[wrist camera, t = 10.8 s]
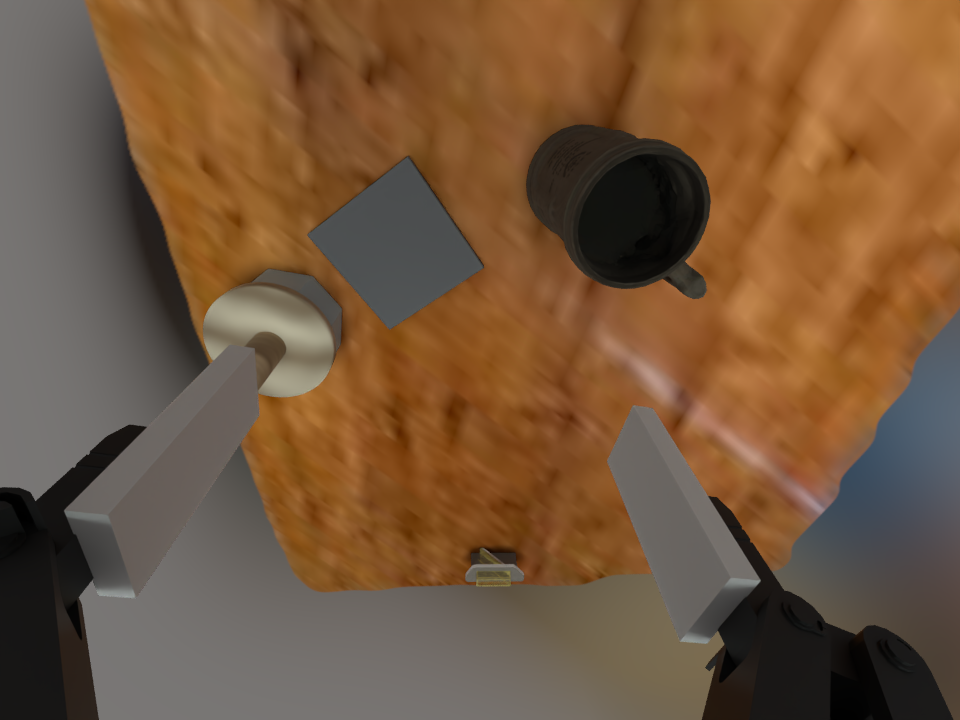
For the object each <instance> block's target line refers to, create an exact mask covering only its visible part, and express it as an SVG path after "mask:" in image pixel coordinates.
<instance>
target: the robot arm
mask: <svg viewBox="0 0 960 720" xmlns="http://www.w3.org/2000/svg"><path fill="white" fill-rule="evenodd" d="M258 416H259V403H258V389H257V375H256V360H255V348H249V347H243V346H236V345H229V346H228V347H227V348H226V349H225V350H224V351H223V352H222V353H221V354H220V355H219V356H218V357H217V358H216V359H215V360H214V361H213V362H212V363H211V364H210V365H209V366H208V367H207V368H206V369H205V370H204V371H203V372H202V373H201V374H200V375H199V376H198V377H197V378H196V379H195V380H194V381H193V382H192V383H191V384H190V385H189V386H188V387H187V388H186V389H185V390H184V391H183V392H182V393H181V394H180V395H179V396H178V397H177V398H176V399H175V400H174V401H173V402H172V403H171V404H170V405H169V406H168V407H167V408H166V409H165V410H164V411H163V412H162V413H161V414H160V415H159V416H158V417H157V418H156V419H155V420H154V421H153V422H152V423H151V424H150V425H149V426H148V427H144V426H136V425H128V426H126V427H124V428H122V429H120V430H118V431H116V432H114V433H112V434H110V435H108V436H107V437H105V438H104V439H103V440H102V441H101V442H100V443H99V444H98V445H97V446H96V447H94V448H93V449H92V450H91V451H90V454H89V455H86V456H85V457H84V458H82V459H81V460H80V461H79V462H78V463H77V464H76V467H75V468H71V469H70V470H69V471H68V472H67V473H66V474H65V475H64V476H63V477H62V478H61V479H60V480H58V481H57V482H56V483H55V484H54V485H53V486H52V487H51V488H50V489H48V490H47V491H46V492H45V493H44V494H43V495H42V496H41V497H40V498H39V499H37V501H35V500H34V498H33V496H32V494H31V493H30V492H29V491H26V490H24V489H21V488H7V487H2V488H0V720H99V718H98V712H97V704H96V697H95V691H94V685H93V677H92V670H91V664H90V657H89V650H88V643H87V637H86V630H85V623H84V617H83V610H82V604H81V602H80V600H79V596H80V595H81V593H82V592H83V591H84V590H85V588H86V587H87V586H88V585H89V583H90V582H91V581H92V580H93V583H94V585H95V587H96V590H97V592H98V595H101V596H113V597H126V598H137V596H138V595H139V593H140V592H141V590H142V589H143V587H144V586H145V584H146V583H147V581H148V580H149V579H150V577H151V576H152V574H153V572H154V571H155V570H156V568H157V567H158V565H159V564H160V562H161V561H162V559H163V558H164V556H165V555H166V553H167V552H168V550H169V549H170V547H171V546H172V544H173V543H174V541H175V540H176V538H177V537H178V535H179V534H180V532H181V531H182V529H183V528H184V526H185V525H186V523H187V522H188V521H189V519H190V518H191V516H192V515H193V513H194V511H195V510H196V509H197V507H198V505H199V504H200V503H201V501H202V500H203V498H204V497H205V495H206V493H207V492H208V491H209V489H210V488H211V486H212V485H213V483H214V482H215V480H216V478H217V477H218V476H219V474H220V473H221V471H222V470H223V468H224V467H225V465H226V464H227V463H228V461H229V459H230V458H231V456H232V455H233V453H234V452H235V451H236V449H237V448H238V446H239V445H240V443H241V442H242V440H243V439H244V437H245V436H246V434H247V433H248V431H249V430H250V428H251V427H252V425H253V424H254V422H255V421H256V419H257V418H258ZM607 462H608V464H609V467H610V469H611V472H612V474H613V477H614V479H615V482H616V484H617V487H618V489H619V492H620V494H621V497H622V499H623V502H624V504H625V507H626V509H627V511H628V514H629V516H630V519H631V521H632V524H633V526H634V529H635V531H636V534H637V536H638V539H639V541H640V544H641V546H642V549H643V551H644V554H645V556H646V559H647V561H648V564H649V566H650V568H651V571H652V573H653V576H654V578H655V581H656V583H657V586H658V588H659V591H660V593H661V596H662V598H663V600H664V603H665V606H666V608H667V611H668V613H669V616H670V618H671V621H672V623H673V625H674V628H675V630H676V633H677V635H678V637H679V640H680V641H681V642H694V643H708V642H709V640H710V639H711V638H712V637H713V636H714V635H715V633H716V632H717V631H719V633H720V636H721V637H722V640H723V642H724V644H725V645H724V646H723V647H722V648H721V649H720V650H719V651H718V653H717V654H716V655H715V656H714V657H713V658H712V659H711V660H710V661H709V663H708V664H707V666H706V667H705V668H706V669H707V670H709V671H710V670H711V669H712V668H713V667H714V666H715V665H716V666H715V670H714V674H713V678H712V682H711V686H710V690H709V693H708V698H707V701H706V705H705V709H704V713H703V717H702V720H953V718H952V715H951V713H950V711H949V709H948V707H947V705H946V703H945V700H944V698H943V697H942V694H941V692H940V690H939V688H938V685H937V683H936V681H935V679H934V677H933V675H932V673H931V671H930V669H929V668H928V666H927V664H926V663H925V661H924V660H923V659H922V657H921V656H920V655H919V654H918V653H917V652H916V651H915V650H914V649H913V648H912V647H911V646H910V645H909V644H908V643H907V642H905V641H904V640H903V639H901V638H900V637H899V636H897V635H895V634H894V633H892V632H890V631H889V630H887V629H885V628H881V627H878V626H876V625H873V626H866V627H865V628H864V629H863V630H862V631H860V632H859V633H858V634H857V635H855V634H853V633H850V632H848V631H845V630H842V629H840V628H838V627H835V626H833V625H830V624H828V623H825V621H824V619H823V618H822V616H821V615H820V614H819V613H818V612H817V611H816V610H815V609H814V607H813V606H811V605H810V604H809V603H807V602H806V601H805V600H803V599H802V598H801V597H799V596H797V595H795V594H793V593H791V592H788V591H784V589H783V588H782V587H781V585H780V584H779V582H778V581H777V579H776V578H775V576H774V575H773V573H772V571H771V570H770V568H769V567H768V565H767V564H766V562H765V561H764V559H763V558H762V556H761V555H760V553H759V552H758V550H757V549H756V547H755V546H754V544H753V543H751V542H750V538H749V537H748V535H747V534H746V532H745V531H744V530H742V526H741V525H740V523H739V522H738V520H737V519H736V517H735V516H734V514H733V513H732V511H731V510H730V509H729V508H728V507H726V506H725V505H724V504H723V503H722V502H721V501H720V500H719V499H718V498H717V497H711V496H707V494H706V492H705V491H704V489H703V488H702V486H701V484H700V483H699V481H698V480H697V478H696V476H695V475H694V473H693V472H692V470H691V468H690V467H689V465H688V464H687V462H686V461H685V459H684V457H683V456H682V454H681V453H680V451H679V449H678V448H677V446H676V445H675V443H674V441H673V440H672V438H671V437H670V435H669V433H668V432H667V430H666V429H665V427H664V425H663V424H662V422H661V421H660V419H659V417H658V416H657V414H656V413H655V411H654V409H653V408H647V407H641V406H634V405H633V407H632V409H631V411H630V413H629V415H628V417H627V420H626V422H625V424H624V426H623V428H622V430H621V433H620V435H619V437H618V439H617V441H616V443H615V446H614V448H613V450H612V452H611V454H610V456H609V458H608V461H607Z"/></svg>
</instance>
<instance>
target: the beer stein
mask: <svg viewBox="0 0 960 720" xmlns="http://www.w3.org/2000/svg"><path fill="white" fill-rule="evenodd" d="M526 186H527V196H528V200H529V203H530V206H531V208H532V210H533V212H534V214H535V216H536V217H537V218H538V219H539V220H540V221H541V222H542V223H543V224H544V225H545V226H547V227H548V228H549V229H550V230H551V231H552V232H554V233H556V234H558V235H559V236H560V238H561V239H562V240H563V241H564V244H565V248H566V250H567V252H568V254H569V256H570V258H571V260H572V261H573V262H574V263H575V265H576V266H577V267H578V268H579V269H580V270H581V271H582V272H583V273H584V274H585V275H587V276H588V277H590V278H591V279H593V280H595V281H597V282H599V283H601V284H603V285H606V286H610V287H614V288H621V289H632V288H639V287H644V286H647V285H649V284H652V283H654V282H656V281H659V280H661V279H664V280H665V281H667V282H668V283H670V284H671V285H673V286H674V287H676V288H677V289H678V290H679V291H680V292H681V293H683V294H684V295H686V296H687V297H690V298H692V299H699V298H701V297H703V296H704V295H705V293H706V291H707V289H706V282H705V280H704V278H703V276H702V275H700V274H699V273H698V272H697V271H695V270H694V269H693V268H691V267H690V266H689V265H688V264H687V263H686V262H685V260H686V259H687V258H688V257H689V256H690V255H691V254H692V253H693V251H694V250H695V248H696V246H697V245H698V243H699V241H700V240H701V238H702V235H703V233H704V231H705V228H706V225H707V221H708V218H709V212H710V203H711V200H710V193H709V187H708V184H707V180H706V177H705V175H704V174H703V172H702V171H701V169H700V167H699V166H698V165H697V163H696V162H695V161H694V160H693V159H692V158H691V157H689V156H688V155H687V154H685V153H684V152H683V151H682V150H681V149H680V148H678V147H676V146H673V145H671V144H669V143H667V142H665V141H662V140H655V139H646V138H643V139H638V138H636V137H635V136H634V135H631V134H629V133H626V132H624V131H621V130H612V129H606V128H603V127H596V126H593V125H574V126H571V127H568V128H565V129H562V130H560V131H558V132H557V133H555V134H553V135H552V136H551V137H550V138H548V139H547V140H546V141H545V142H544V143H543V144H542V145H541V146H540V148H539V149H538V151H537V152H536V154H535V156H534V158H533V160H532V162H531V164H530V167H529V171H528V176H527V183H526Z"/></svg>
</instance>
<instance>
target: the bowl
mask: <svg viewBox="0 0 960 720" xmlns="http://www.w3.org/2000/svg"><path fill="white" fill-rule="evenodd" d="M253 282H267V283H274V284H278V285H282V286H285V287H288V288H291V289H293V290H295V291H297V292H299V293H300V294H302V295H304V296H305V297H307V298H308V299H309V300H311V301H312V302H313V303H314V304H315V305H316V306H317V307H318V308H319V309H320V310H321V311H322V312H323V314H324V315H325V316H326V318H327V319H328V321H329V323H330V325H331V327H332V329H333V332H334V335H335V340H336V352H337V350H338V348H339V346H340V344H341V324H342V308H341V307H340V306H339V305H338V304H337V302H336V301H335V300H334V299H333V298H332V297H331V296H330V295H329V294H328V293H327V291H326V290H325V289H324V288H323V287H322V286H321V285H320V284H319V283H318V282H317V280H316V279H315V278H314V277H313V276H308V275H302V274H297V273H291V272H285V271H279V270H273V269H267V270H266V271H265V272H264V273H262V274H261V275H260V276H258V277H257V278H256V279H254V280H253V281H252V282H251V283H253Z"/></svg>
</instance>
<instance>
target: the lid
mask: <svg viewBox="0 0 960 720" xmlns="http://www.w3.org/2000/svg"><path fill="white" fill-rule="evenodd" d="M203 337H204V342H205V345H206V348H207V351H208V353H209V355H210V357H211V358H212V360H213V361H214V360H215V359H216V358H217V357H218V356H219V355H220V354H221V353H222V352H223V351H224V350H225V349H226V348H227V347H228V346H229V345H236V346H243V347H249V348H255V360H256V375H257V389H258V393H259V394H262V395H267V396H273V397H291V396H297V395H301V394H303V393H306V392H308V391H310V390H312V389H314V388H315V387H316V386H318V385H319V384H320V383H321V382H322V381H323V380H324V378H325V377H326V376H327V374H328V372H329V370H330V368H331V366H332V364H333V362H334V359H335V355H336V340H335V335H334V332H333V329H332V327H331V325H330V323H329V321H328V319H327V318H326V316H325V315H324V314H323V312H322V311H321V310H320V309H319V308H318V307H317V306H316V305H315V304H314V303H313V302H312V301H311V300H309V299H308V298H307V297H305V296H304V295H302V294H300V293H299V292H297V291H295V290H293V289H291V288H288V287H285V286H282V285H278V284H274V283H267V282H253V283H246V284H242V285H239V286H237V287H234V288H232V289H231V290H229V291H228V292H226V293H225V294H223V295H222V296H221V297H220V298H218V299H217V300H216V301H215V302H214V303H213V304H212V305H211V307H210V308H209V310H208V312H207V314H206V316H205V319H204V324H203Z"/></svg>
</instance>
